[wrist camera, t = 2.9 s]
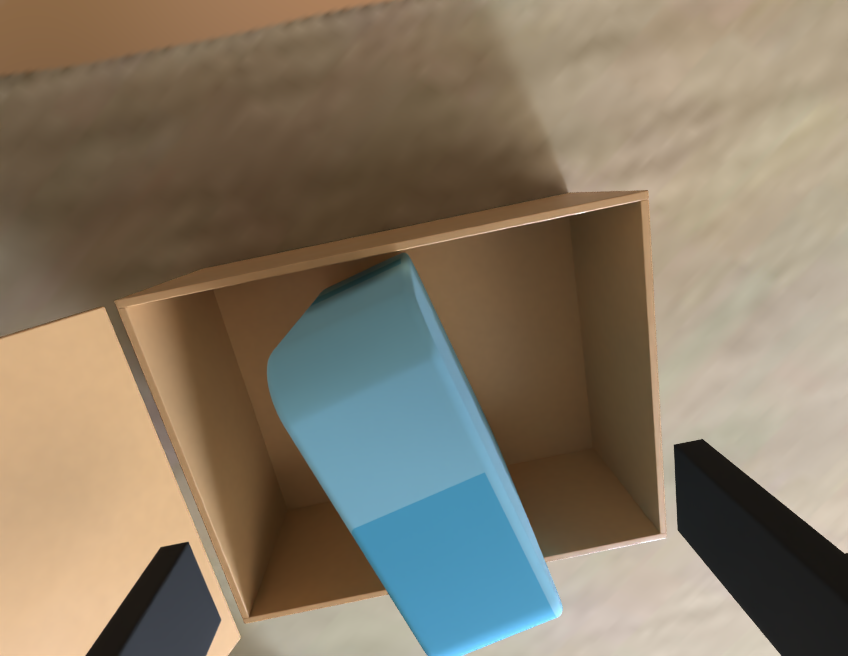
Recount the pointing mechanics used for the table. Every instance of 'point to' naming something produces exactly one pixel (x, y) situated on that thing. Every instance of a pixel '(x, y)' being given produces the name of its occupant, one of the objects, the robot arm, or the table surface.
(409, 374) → the light blue flat block
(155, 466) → the flap
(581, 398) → the carton
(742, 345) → the table surface
